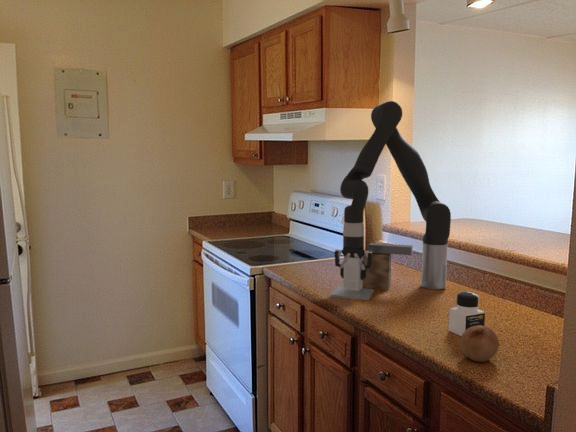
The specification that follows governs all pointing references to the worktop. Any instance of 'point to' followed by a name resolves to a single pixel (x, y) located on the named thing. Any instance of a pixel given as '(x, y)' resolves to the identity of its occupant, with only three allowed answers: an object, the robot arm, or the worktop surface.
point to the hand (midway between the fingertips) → (353, 278)
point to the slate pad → (352, 293)
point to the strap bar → (391, 249)
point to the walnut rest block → (378, 272)
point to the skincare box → (352, 274)
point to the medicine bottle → (465, 313)
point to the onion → (479, 343)
